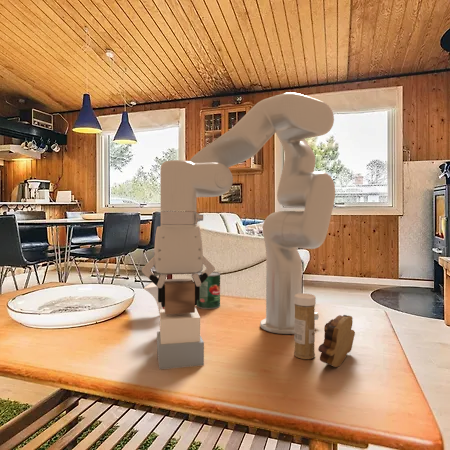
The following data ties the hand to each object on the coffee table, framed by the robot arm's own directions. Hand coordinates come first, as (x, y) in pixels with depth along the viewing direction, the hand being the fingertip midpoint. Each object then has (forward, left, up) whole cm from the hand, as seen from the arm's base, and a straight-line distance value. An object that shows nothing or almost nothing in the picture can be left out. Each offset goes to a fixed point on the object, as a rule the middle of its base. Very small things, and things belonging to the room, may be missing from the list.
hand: (178, 303), depth 80 cm
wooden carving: (-32, +9, -12) cm, 35 cm away
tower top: (0, 0, -7) cm, 7 cm away
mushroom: (+2, -35, -12) cm, 37 cm away
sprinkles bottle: (-27, +4, -12) cm, 30 cm away
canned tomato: (-14, -43, -12) cm, 47 cm away
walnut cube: (0, 0, -1) cm, 1 cm away
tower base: (0, 0, -12) cm, 12 cm away
